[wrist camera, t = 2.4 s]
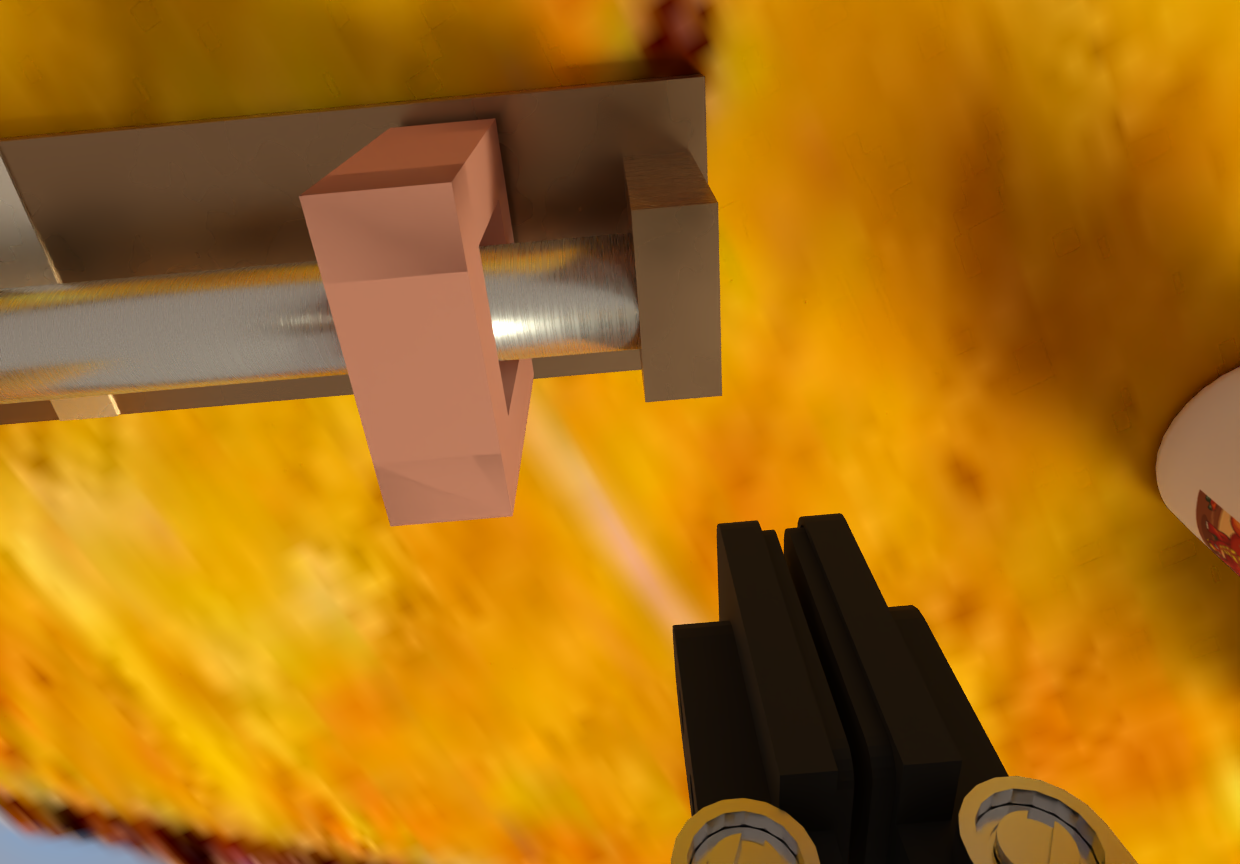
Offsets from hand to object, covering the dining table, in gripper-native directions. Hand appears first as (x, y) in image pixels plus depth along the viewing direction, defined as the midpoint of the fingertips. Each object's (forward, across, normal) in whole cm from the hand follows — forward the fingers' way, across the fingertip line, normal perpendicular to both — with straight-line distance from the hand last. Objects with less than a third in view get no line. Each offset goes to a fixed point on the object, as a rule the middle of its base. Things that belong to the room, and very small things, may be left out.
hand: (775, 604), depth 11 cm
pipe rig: (+17, +14, -1) cm, 22 cm away
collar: (+16, +6, -1) cm, 17 cm away
